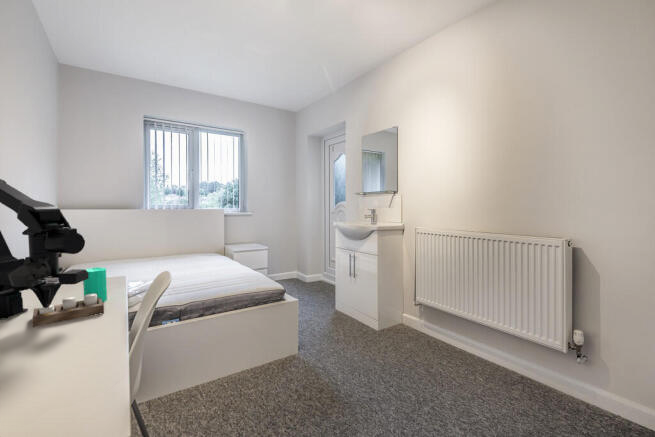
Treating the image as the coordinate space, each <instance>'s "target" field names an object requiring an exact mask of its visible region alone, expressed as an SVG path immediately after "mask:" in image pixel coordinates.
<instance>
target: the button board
mask: <svg viewBox="0 0 655 437" xmlns="http://www.w3.org/2000/svg"><path fill="white" fill-rule="evenodd" d="M76 306H77V308H72V309H66V310H63V303H60V304H56V305H55V304H54V312H50V313H44V314H39V308H40V307H38V308H33V312H32V327H33V328H36V327H37V328H38V327H42V326H47V325H51V324H57V323H60V322H61V323H62V322H67V321H72V320H76V319H82V318H86V317H92V316H96V315H95V314H97V315H101V314H100V313H102V314H105V306H104V302H102V300H101V298H97V304H94V305H89V306H84V299H83V300H79V301H77V300H76ZM91 315H92V316H91Z"/></svg>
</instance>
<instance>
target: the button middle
mask: <svg viewBox="0 0 655 437" xmlns="http://www.w3.org/2000/svg"><path fill="white" fill-rule="evenodd" d="M76 302H77V297H76V296H69V297H65V298H63V299H62V304H63V310H66V309H72V308H77V306H76Z"/></svg>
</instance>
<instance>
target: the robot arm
mask: <svg viewBox="0 0 655 437" xmlns="http://www.w3.org/2000/svg"><path fill="white" fill-rule="evenodd" d="M0 204H2V205H4V206H5V207H7V208H8V209H10V210H11V211H13V212H14V213H15V214H16V219H17V220H18V221H19V222H21V224H23V225H24V226H25V227H27V228H26V229H25V230H24V231H22V232H21V234H22V235H24V236H28V239H27V240H28V255H29V256H25V257H24V258H17V257H15V256H14V255H13V254H12V252H11V249H10V248H9V245H8V243H7V241H6V239H5V237H4V234H3V233H2V231H1V230H0V320H5V319H6V320H7V319H9V318H12V317H15V316H17V315H20V314H22V313H25V312H28V311H29V308H24V300H23V299H24V298H23V296H22V292H23V291H27V290H31V291H32V292H33V293H34V294H35V296H36V297H37V299H38V301H39V303H40V304H41V307H43V308H47V307H49V306H50V305H52V302H53V301H54V298H55V296H56V294H57V293H58V291H59V289H60V288H61V286H62V285H76V284H79V283H81V282H83V281H84V280H86V279H88V278H89V277H88V272H87V271H86V269H81V268H80V269H70V270H67V271H65V272H63V267H62V266H61V267H60V264H59V263H60V262H59V258H62V256H63V255H62V254H67V255H77V254H78V253H80V252H81V251H83V249H84V248H85V244H86V240H85V239H84V238H85V237H84V236H83V235H82V234H81V233H78V228H76V227H72V226H71V225H70V223H69V221H68V220H67V219H66V218H65V216H64V214H63V213H62V211H61V209H60V208H59V207H58V206H56V205H54V204H51V203H49V202H45V201H39V200H35V199H33V198H31V197H30V196H28V195H26V194H25V193H24V192H21V191H20V190H18V189H17V188H16V187H13V186H12V185H10V184H8V183H7V182H6V181H5V180H4V179H1V178H0Z"/></svg>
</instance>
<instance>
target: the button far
mask: <svg viewBox="0 0 655 437" xmlns="http://www.w3.org/2000/svg"><path fill="white" fill-rule="evenodd" d="M83 300H84V306H89V305H94V304H97V294H88V295H85V296H84V295H83Z"/></svg>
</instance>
